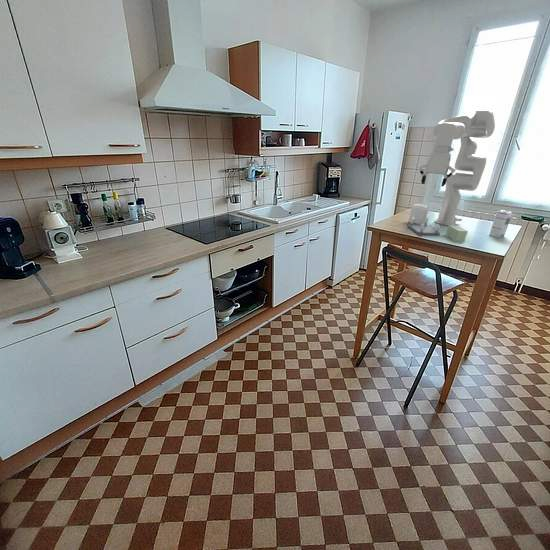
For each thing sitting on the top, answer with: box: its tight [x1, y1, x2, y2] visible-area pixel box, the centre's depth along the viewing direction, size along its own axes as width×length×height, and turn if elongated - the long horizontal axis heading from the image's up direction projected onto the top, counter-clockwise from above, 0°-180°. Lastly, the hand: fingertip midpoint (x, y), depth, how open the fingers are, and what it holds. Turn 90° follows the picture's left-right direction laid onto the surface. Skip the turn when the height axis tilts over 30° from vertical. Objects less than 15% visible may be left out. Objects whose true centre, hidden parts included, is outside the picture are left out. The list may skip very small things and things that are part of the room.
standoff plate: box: [407, 217, 441, 236], centre depth 176 cm, size 12×17×6 cm
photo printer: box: [408, 203, 429, 225], centre depth 190 cm, size 10×4×12 cm, turn 39°
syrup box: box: [489, 209, 513, 238], centre depth 169 cm, size 6×6×14 cm
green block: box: [445, 224, 468, 242], centre depth 165 cm, size 5×11×6 cm, turn 178°
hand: (432, 184), depth 156 cm, fingers open, 9 cm apart
